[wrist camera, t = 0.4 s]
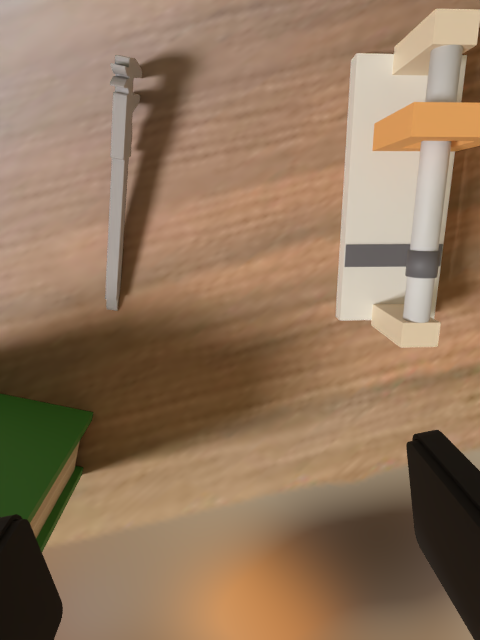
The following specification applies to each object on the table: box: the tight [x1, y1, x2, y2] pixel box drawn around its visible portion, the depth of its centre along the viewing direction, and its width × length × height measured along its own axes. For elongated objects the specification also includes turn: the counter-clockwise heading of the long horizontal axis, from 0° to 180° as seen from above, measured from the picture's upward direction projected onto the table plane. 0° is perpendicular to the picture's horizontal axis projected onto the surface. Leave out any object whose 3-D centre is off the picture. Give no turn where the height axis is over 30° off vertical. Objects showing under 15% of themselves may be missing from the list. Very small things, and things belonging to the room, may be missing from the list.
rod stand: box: [336, 9, 480, 348], centre depth 33 cm, size 23×9×8 cm, turn 0°
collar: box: [372, 102, 480, 151], centre depth 29 cm, size 2×7×7 cm, turn 90°
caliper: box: [105, 55, 142, 311], centre depth 34 cm, size 20×1×6 cm, turn 170°
